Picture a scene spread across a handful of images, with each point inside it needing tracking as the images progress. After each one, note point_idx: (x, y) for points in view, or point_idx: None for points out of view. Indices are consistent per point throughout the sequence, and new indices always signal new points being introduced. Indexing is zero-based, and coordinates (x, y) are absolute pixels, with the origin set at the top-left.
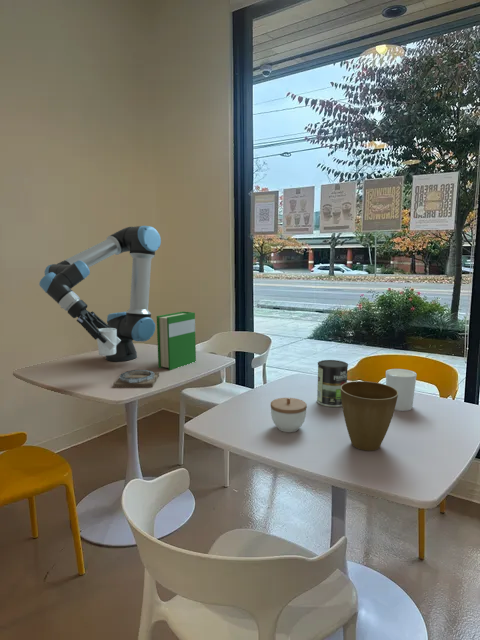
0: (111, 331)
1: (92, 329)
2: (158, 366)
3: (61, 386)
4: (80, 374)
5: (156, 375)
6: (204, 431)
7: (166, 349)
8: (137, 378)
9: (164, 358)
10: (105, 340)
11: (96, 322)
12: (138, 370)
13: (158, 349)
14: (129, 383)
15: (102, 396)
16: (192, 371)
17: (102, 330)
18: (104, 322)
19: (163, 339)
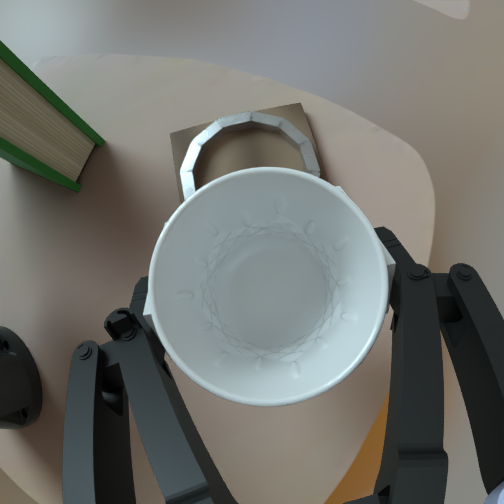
0: (329, 185)
1: (498, 323)
2: (75, 190)
3: (360, 428)
4: (207, 446)
5: (205, 125)
6: (461, 6)
7: (51, 125)
8: (300, 146)
9: (66, 152)
10: (389, 231)
11: (210, 473)
12: (190, 192)
13: (38, 165)
14: (323, 173)
15: (426, 224)
16: (118, 78)
17: (209, 371)
18: (74, 410)
19: (19, 121)
